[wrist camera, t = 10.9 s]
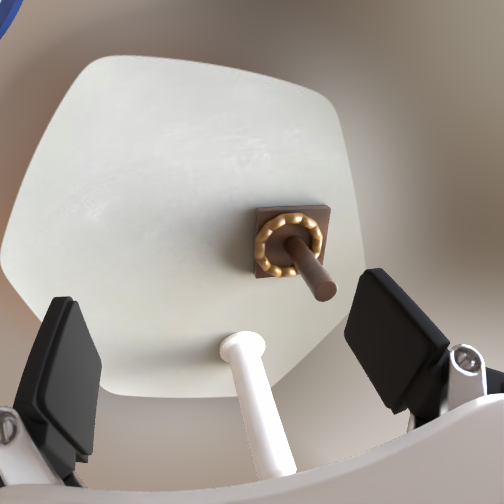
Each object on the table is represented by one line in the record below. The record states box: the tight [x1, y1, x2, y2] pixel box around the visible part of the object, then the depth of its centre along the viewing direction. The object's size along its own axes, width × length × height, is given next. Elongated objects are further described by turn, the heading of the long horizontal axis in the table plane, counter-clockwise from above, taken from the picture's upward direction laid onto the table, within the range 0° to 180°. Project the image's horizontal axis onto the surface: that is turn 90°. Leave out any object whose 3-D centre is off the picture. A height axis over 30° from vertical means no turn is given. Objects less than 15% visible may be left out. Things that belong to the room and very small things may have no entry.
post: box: [254, 205, 337, 302], centre depth 33 cm, size 9×9×11 cm
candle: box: [219, 331, 296, 481], centre depth 34 cm, size 7×7×25 cm
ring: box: [254, 213, 322, 277], centre depth 36 cm, size 8×8×1 cm
